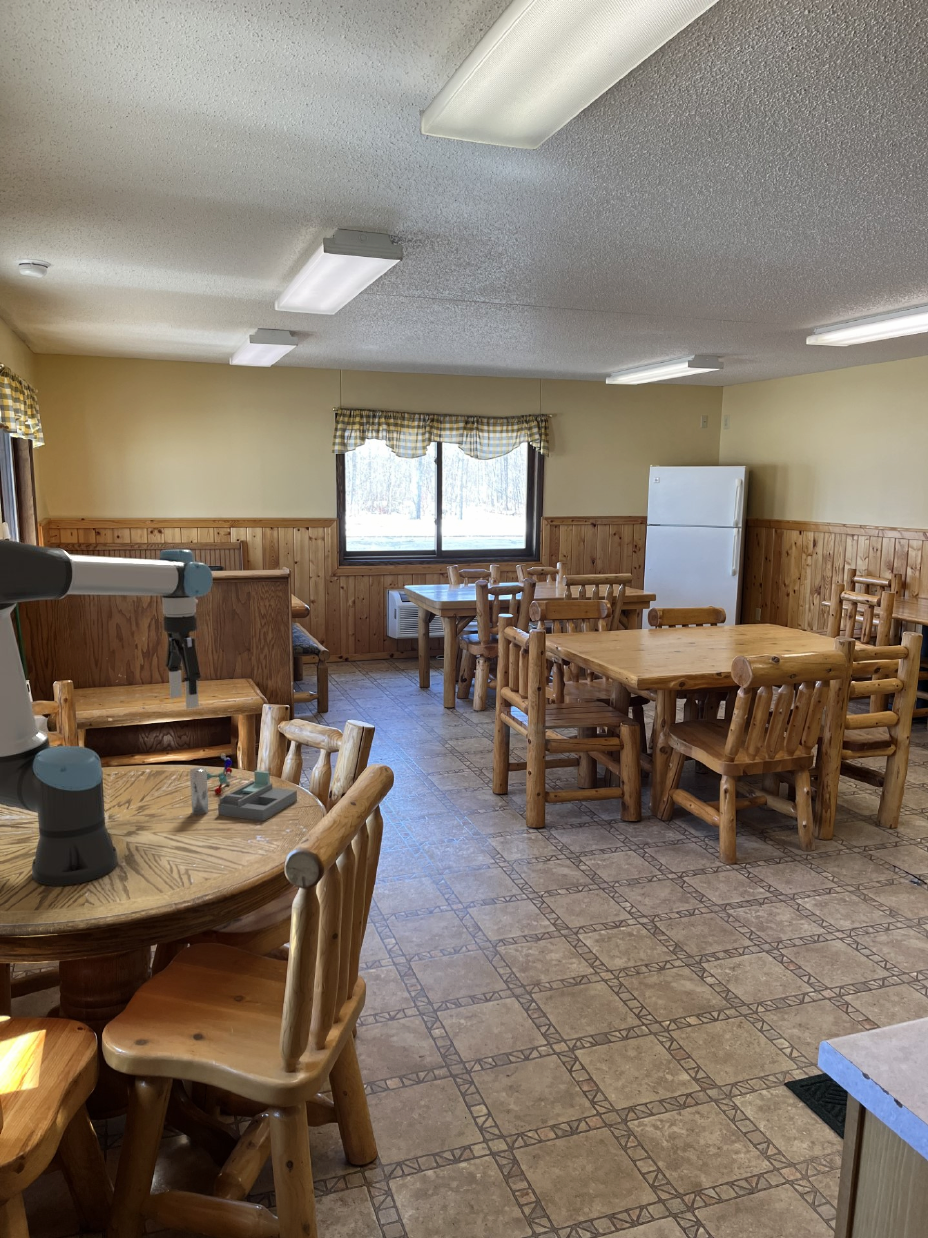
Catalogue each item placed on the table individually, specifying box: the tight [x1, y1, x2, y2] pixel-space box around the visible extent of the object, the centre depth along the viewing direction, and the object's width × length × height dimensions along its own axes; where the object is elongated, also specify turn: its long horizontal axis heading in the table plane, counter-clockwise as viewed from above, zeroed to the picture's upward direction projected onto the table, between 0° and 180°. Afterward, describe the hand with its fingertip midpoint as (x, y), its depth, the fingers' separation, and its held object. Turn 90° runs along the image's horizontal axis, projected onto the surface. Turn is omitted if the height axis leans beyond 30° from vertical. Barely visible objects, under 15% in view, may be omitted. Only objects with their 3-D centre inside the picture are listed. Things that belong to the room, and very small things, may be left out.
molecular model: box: [199, 753, 233, 795], centre depth 213 cm, size 12×10×10 cm
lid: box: [243, 769, 271, 794], centre depth 205 cm, size 6×4×4 cm, turn 159°
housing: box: [217, 780, 298, 822], centre depth 200 cm, size 14×12×4 cm
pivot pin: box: [189, 767, 209, 816], centre depth 197 cm, size 4×4×10 cm
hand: (184, 702), depth 207 cm, fingers open, 13 cm apart
